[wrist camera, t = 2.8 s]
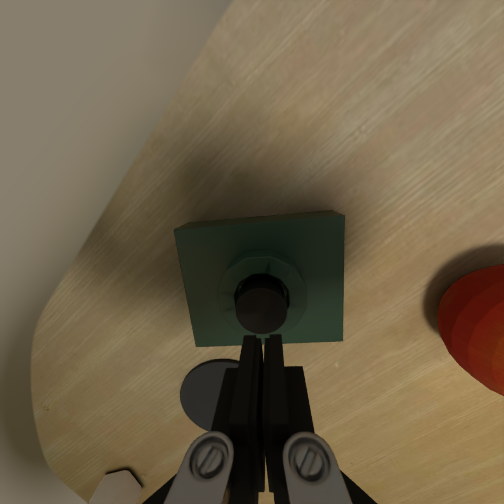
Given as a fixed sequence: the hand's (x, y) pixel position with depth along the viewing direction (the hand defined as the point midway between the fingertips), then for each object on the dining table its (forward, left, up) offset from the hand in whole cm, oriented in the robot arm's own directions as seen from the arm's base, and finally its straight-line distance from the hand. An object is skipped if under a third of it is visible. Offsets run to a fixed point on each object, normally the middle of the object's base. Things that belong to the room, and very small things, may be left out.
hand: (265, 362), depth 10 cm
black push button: (0, 0, -6) cm, 6 cm away
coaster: (-5, -14, -11) cm, 18 cm away
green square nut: (0, 0, -11) cm, 11 cm away
